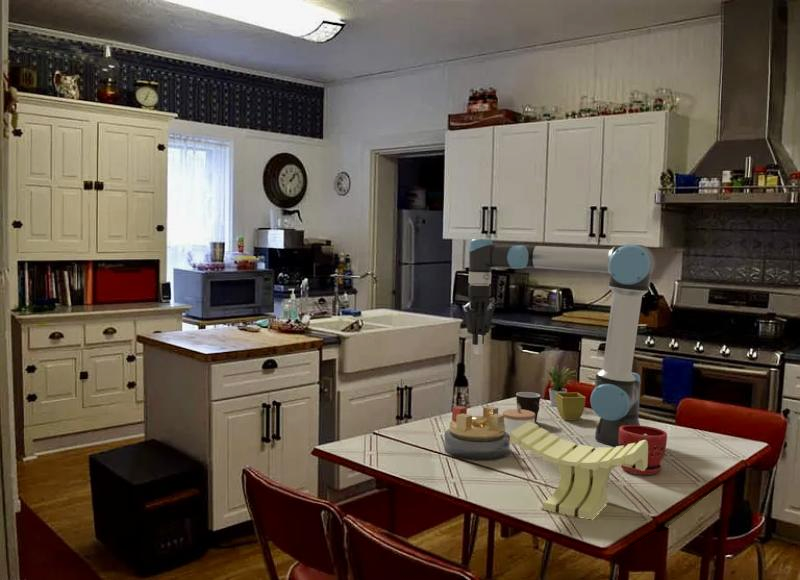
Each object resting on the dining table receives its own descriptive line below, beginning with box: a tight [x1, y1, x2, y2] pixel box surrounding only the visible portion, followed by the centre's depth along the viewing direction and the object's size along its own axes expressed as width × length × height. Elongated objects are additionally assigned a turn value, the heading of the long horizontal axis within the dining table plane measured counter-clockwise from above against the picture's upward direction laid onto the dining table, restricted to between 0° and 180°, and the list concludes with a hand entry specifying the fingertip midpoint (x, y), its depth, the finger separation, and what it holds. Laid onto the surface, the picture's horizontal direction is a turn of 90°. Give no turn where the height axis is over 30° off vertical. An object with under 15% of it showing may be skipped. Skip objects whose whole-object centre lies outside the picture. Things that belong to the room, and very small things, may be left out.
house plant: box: [543, 364, 577, 407], centre depth 288 cm, size 14×14×16 cm
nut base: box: [443, 428, 510, 462], centre depth 226 cm, size 20×20×5 cm
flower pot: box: [556, 392, 587, 421], centre depth 268 cm, size 9×9×9 cm
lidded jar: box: [502, 408, 535, 436], centre depth 244 cm, size 11×11×9 cm
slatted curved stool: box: [510, 422, 648, 519], centre depth 182 cm, size 30×16×18 cm, turn 59°
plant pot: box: [618, 424, 668, 476], centre depth 210 cm, size 13×13×12 cm
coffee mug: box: [515, 391, 541, 424], centre depth 260 cm, size 12×9×10 cm
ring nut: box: [449, 405, 506, 442], centre depth 225 cm, size 17×17×7 cm
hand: (477, 354), depth 248 cm, fingers closed
